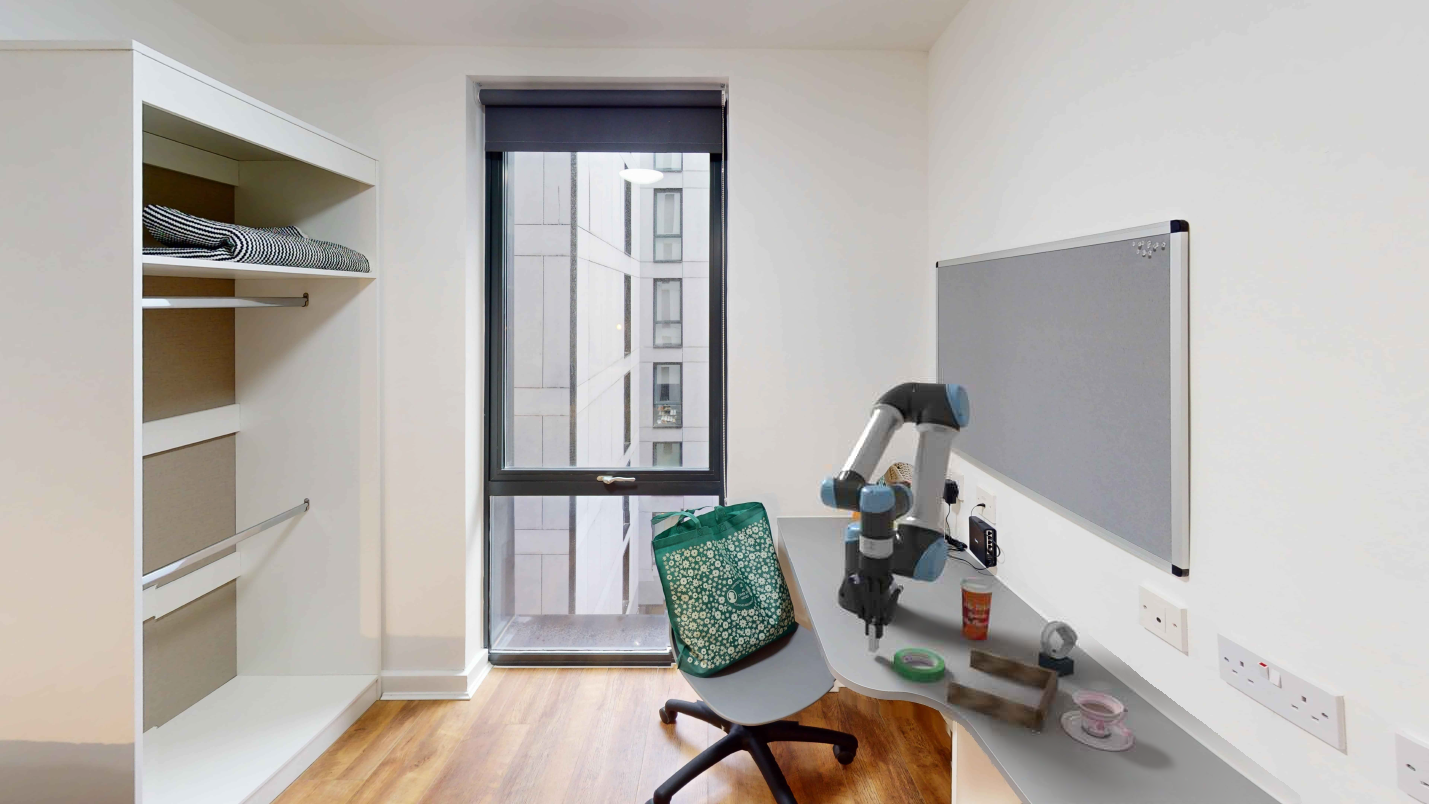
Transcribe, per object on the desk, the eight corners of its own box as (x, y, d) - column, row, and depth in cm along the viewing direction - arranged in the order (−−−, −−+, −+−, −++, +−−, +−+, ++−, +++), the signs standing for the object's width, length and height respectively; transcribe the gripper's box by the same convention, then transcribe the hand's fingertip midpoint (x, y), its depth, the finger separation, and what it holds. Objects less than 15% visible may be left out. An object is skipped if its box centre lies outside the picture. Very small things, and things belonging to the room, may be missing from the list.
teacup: (1069, 746, 119) (1071, 714, 118) (1054, 708, 130) (1055, 680, 130) (1143, 757, 116) (1145, 725, 115) (1121, 718, 127) (1123, 688, 126)
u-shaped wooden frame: (947, 701, 133) (947, 683, 132) (971, 664, 147) (972, 647, 147) (1041, 733, 122) (1042, 713, 122) (1057, 689, 137) (1058, 671, 136)
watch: (1080, 672, 144) (1083, 625, 142) (1052, 679, 141) (1055, 631, 140) (1058, 660, 149) (1061, 614, 148) (1032, 666, 146) (1034, 620, 145)
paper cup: (960, 640, 158) (962, 586, 156) (956, 626, 166) (958, 574, 164) (994, 644, 156) (997, 589, 155) (989, 630, 164) (991, 577, 162)
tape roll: (922, 654, 152) (922, 643, 152) (955, 678, 142) (956, 666, 142) (883, 663, 148) (883, 652, 148) (914, 688, 138) (915, 676, 138)
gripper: (842, 551, 149) (841, 647, 152) (897, 563, 142) (894, 664, 145) (856, 542, 155) (854, 635, 158) (909, 553, 148) (906, 651, 150)
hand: (873, 649), depth 151 cm, fingers closed
